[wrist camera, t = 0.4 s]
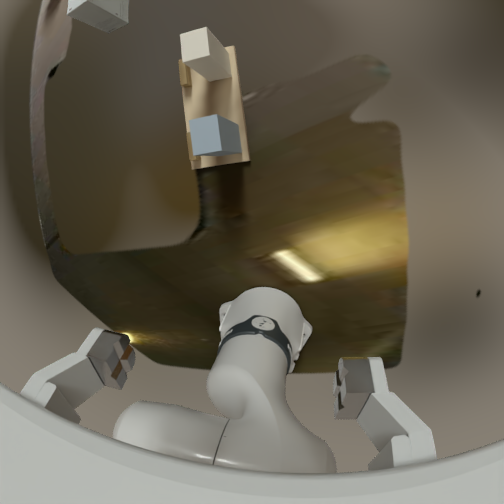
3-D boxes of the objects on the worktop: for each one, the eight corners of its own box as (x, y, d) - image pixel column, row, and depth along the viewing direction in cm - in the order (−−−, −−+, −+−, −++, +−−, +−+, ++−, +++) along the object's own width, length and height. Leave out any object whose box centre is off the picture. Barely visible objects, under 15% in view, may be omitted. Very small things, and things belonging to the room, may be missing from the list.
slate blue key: (238, 124, 46) (216, 114, 35) (242, 152, 48) (221, 150, 36) (215, 128, 47) (188, 120, 36) (219, 156, 49) (193, 155, 37)
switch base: (235, 47, 43) (230, 40, 40) (250, 160, 49) (246, 160, 46) (181, 60, 45) (173, 55, 42) (194, 169, 51) (186, 170, 48)
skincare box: (129, 24, 44) (88, 1, 30) (107, 34, 45) (65, 16, 31) (129, -2, 42) (91, -26, 28) (108, 9, 43) (69, -12, 29)
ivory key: (228, 53, 43) (206, 26, 31) (231, 77, 44) (209, 55, 33) (207, 57, 43) (180, 34, 32) (210, 81, 45) (182, 62, 34)
